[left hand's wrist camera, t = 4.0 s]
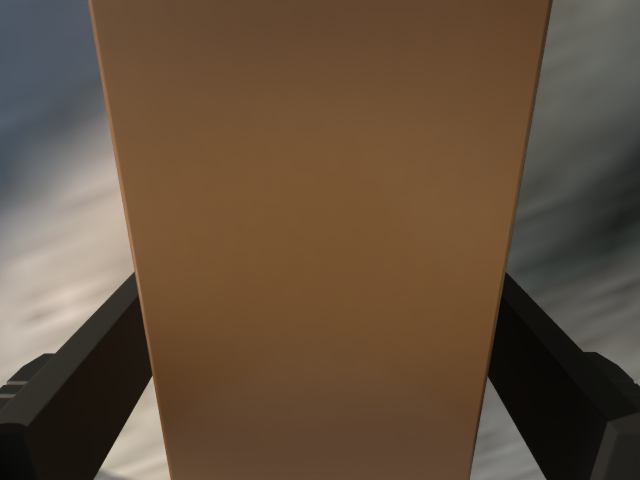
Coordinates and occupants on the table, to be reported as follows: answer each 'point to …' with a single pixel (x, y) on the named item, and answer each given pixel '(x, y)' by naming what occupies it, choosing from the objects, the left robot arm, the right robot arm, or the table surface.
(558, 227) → the table surface
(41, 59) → the table surface
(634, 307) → the table surface
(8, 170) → the table surface
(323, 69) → the beam
